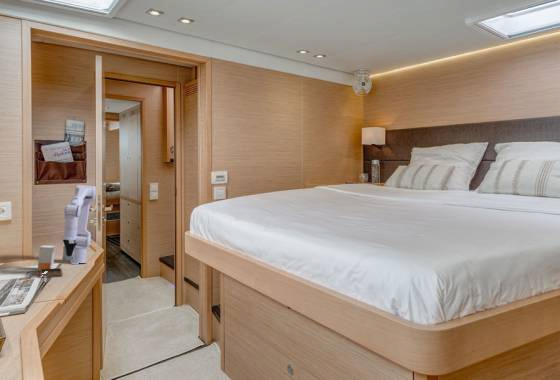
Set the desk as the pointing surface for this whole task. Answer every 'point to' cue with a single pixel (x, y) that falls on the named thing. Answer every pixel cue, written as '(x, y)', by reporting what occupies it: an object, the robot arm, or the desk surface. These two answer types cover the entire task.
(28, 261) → the desk surface
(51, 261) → the skincare box
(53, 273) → the tray
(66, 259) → the cup
